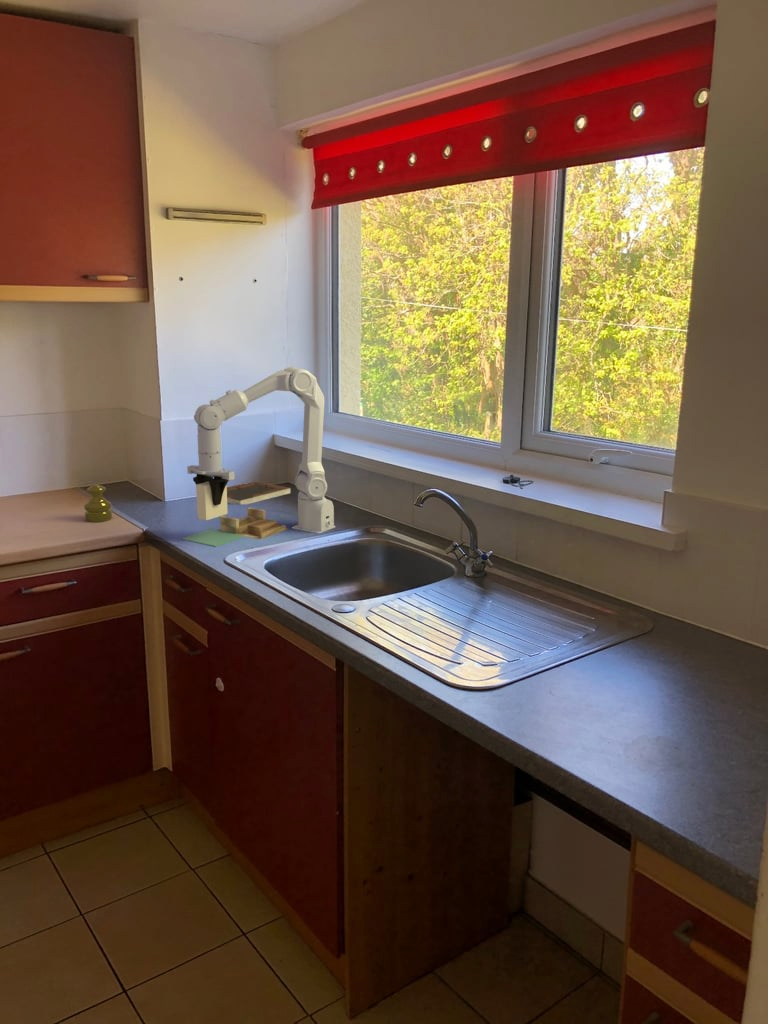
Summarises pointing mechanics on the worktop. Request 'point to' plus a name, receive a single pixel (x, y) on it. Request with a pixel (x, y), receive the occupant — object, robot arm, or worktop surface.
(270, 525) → the offcut upper
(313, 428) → the robot arm
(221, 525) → the rack
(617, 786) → the worktop surface
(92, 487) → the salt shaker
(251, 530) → the offcut lower
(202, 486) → the block
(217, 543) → the pad
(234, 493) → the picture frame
